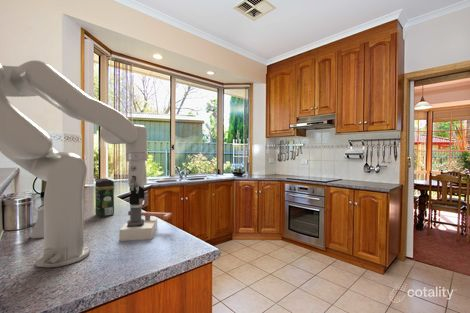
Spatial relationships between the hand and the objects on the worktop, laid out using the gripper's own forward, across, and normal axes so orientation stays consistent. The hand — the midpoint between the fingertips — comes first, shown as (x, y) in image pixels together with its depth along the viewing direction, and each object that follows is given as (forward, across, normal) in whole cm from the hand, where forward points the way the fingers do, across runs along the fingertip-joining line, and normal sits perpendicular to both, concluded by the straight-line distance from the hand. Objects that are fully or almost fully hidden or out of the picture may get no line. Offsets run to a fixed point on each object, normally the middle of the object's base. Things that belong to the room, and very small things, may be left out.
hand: (137, 201), depth 88 cm
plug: (+13, -1, +1) cm, 13 cm away
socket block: (+13, +1, 0) cm, 13 cm away
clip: (+7, +4, -3) cm, 9 cm away
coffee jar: (+13, +32, +23) cm, 42 cm away
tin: (+13, +22, +41) cm, 48 cm away
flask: (+13, +4, +35) cm, 37 cm away
